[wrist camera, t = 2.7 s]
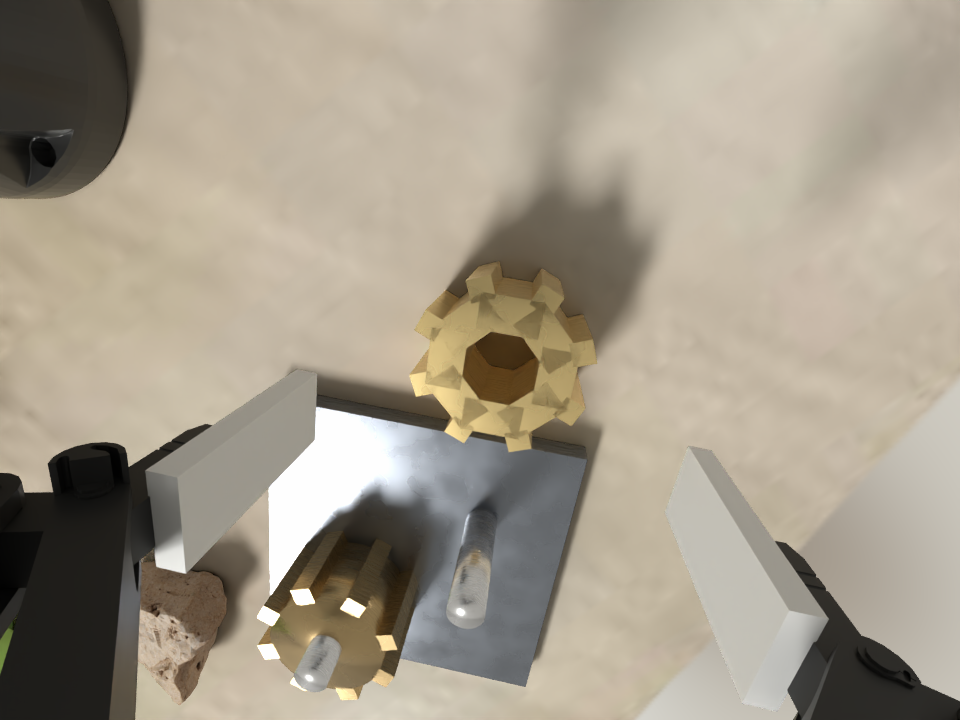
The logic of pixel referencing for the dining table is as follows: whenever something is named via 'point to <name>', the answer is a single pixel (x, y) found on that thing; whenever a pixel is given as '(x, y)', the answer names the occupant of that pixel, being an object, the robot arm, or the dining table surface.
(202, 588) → the stone
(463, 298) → the planet gear
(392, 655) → the plate
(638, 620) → the dining table surface
